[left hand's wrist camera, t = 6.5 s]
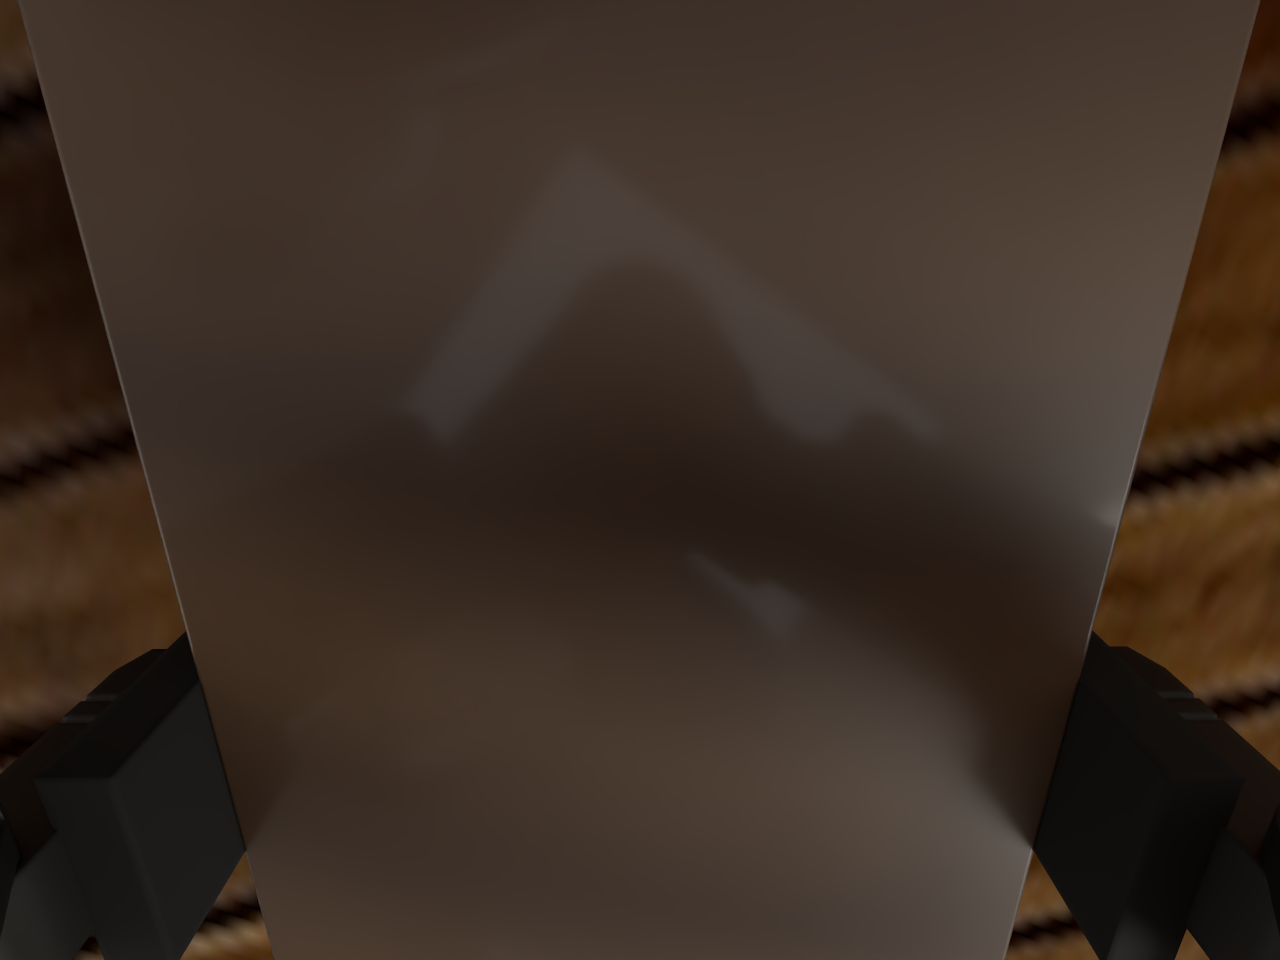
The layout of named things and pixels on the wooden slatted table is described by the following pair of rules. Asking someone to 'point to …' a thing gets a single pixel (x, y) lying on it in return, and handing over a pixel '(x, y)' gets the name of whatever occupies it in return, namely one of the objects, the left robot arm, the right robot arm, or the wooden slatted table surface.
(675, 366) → the cabinet
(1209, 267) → the wooden slatted table surface
